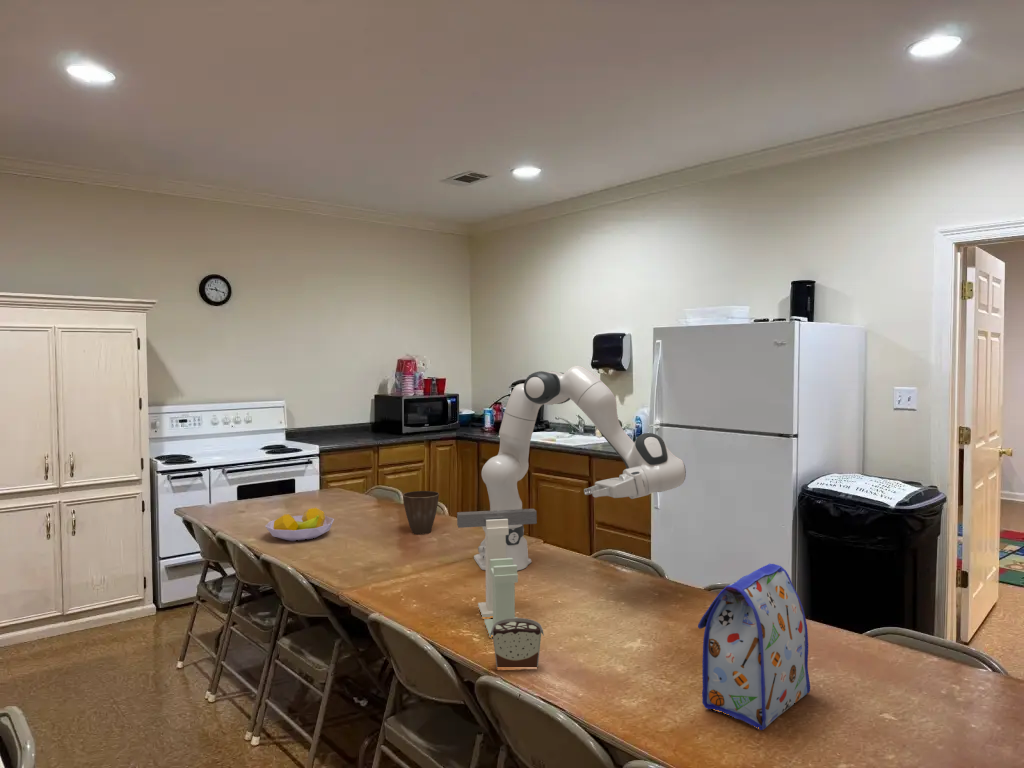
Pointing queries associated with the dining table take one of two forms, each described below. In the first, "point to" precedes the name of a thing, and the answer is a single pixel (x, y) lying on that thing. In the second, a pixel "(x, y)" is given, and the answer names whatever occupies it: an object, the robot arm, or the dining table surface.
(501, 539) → the tall stand
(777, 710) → the lunch bag
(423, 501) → the plant pot
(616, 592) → the dining table surface
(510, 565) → the low stand
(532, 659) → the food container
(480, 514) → the metal bar
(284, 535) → the fruit bowl
